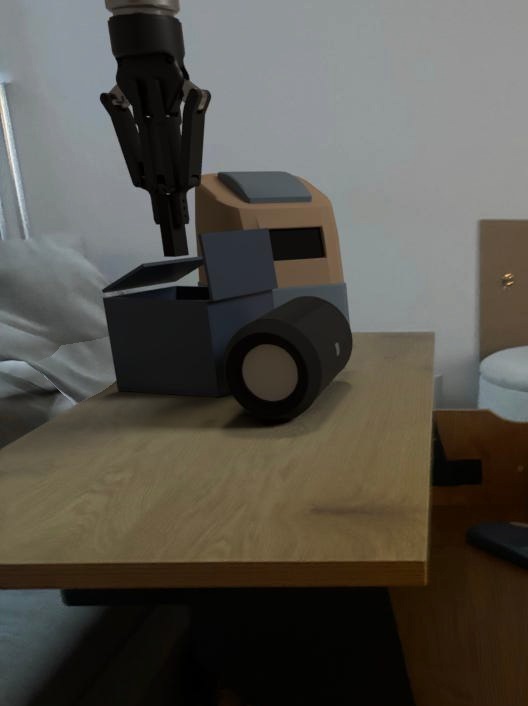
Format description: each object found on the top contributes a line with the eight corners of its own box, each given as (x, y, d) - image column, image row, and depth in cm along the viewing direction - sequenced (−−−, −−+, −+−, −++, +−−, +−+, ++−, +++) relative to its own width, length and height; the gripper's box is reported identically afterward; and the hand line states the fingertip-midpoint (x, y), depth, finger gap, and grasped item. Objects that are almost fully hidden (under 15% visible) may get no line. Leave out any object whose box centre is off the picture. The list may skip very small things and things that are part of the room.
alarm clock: (251, 371, 126) (229, 171, 116) (197, 355, 138) (173, 172, 128) (362, 356, 135) (350, 170, 125) (302, 343, 147) (287, 171, 137)
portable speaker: (321, 427, 98) (313, 322, 93) (222, 427, 98) (209, 322, 94) (358, 379, 121) (352, 293, 116) (278, 379, 121) (269, 293, 117)
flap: (103, 293, 111) (101, 289, 111) (175, 281, 123) (174, 278, 122) (144, 267, 108) (142, 263, 108) (215, 257, 119) (213, 254, 119)
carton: (117, 390, 116) (91, 233, 108) (187, 370, 127) (167, 227, 120) (225, 398, 111) (205, 234, 104) (286, 376, 123) (272, 227, 115)
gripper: (68, 15, 102) (108, 257, 112) (174, 6, 98) (206, 259, 108) (115, 24, 109) (149, 253, 119) (217, 16, 105) (243, 254, 115)
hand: (176, 255), depth 114 cm, fingers closed
